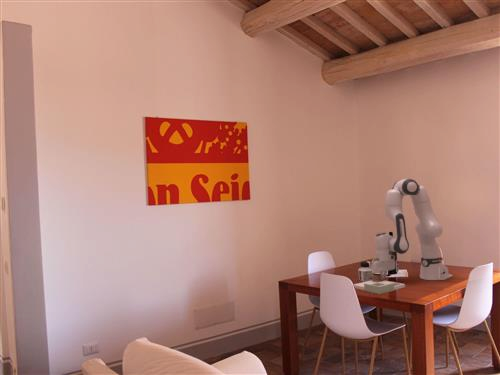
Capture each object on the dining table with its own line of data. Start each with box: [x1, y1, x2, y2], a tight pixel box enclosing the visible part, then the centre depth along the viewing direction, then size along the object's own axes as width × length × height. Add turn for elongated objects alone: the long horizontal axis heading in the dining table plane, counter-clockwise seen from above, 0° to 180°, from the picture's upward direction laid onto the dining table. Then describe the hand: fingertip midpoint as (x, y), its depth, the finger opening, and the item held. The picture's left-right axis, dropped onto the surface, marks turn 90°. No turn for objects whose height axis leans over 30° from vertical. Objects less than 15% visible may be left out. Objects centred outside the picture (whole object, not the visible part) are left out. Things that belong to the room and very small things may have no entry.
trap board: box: [353, 279, 406, 295], centre depth 294 cm, size 24×24×4 cm
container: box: [357, 260, 375, 282], centre depth 318 cm, size 8×8×13 cm
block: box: [372, 275, 384, 282], centre depth 304 cm, size 5×5×3 cm
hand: (383, 277), depth 307 cm, fingers closed
